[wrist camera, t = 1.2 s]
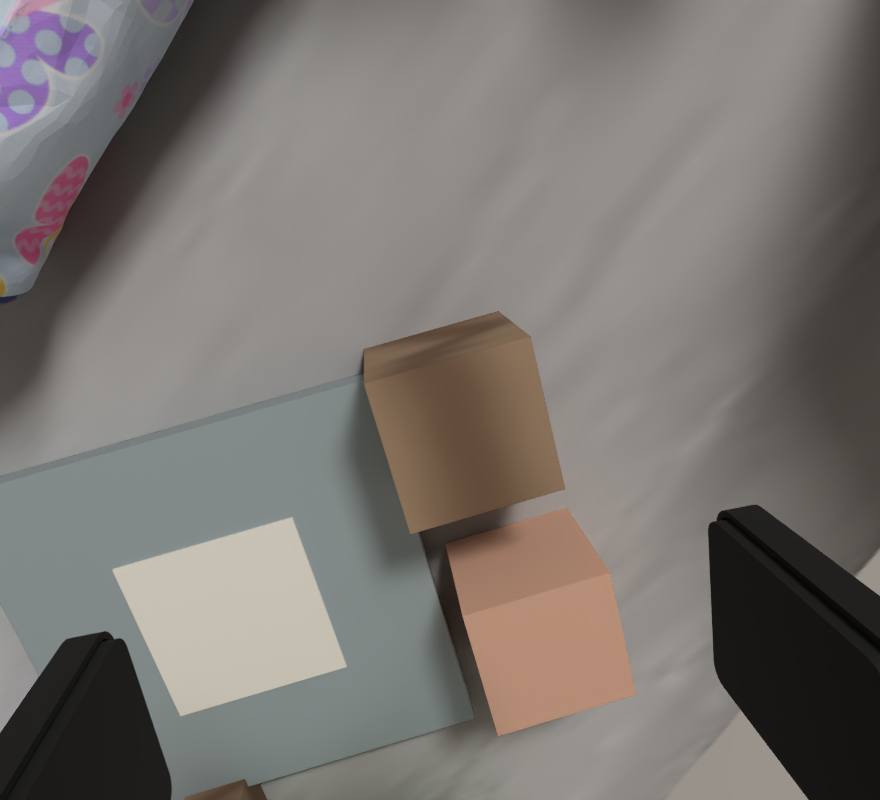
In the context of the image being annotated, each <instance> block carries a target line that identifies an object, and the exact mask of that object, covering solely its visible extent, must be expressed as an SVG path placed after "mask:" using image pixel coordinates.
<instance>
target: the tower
mask: <svg viewBox="0 0 880 800" xmlns="http://www.w3.org/2000/svg"><path fill="white" fill-rule="evenodd" d="M184 800H267V799H266V797H265V795H264V792H263V790H262V788H261V786H260V783H259V784H256V785H252V786H249V787H248V784H247V782H246V780H245V779H243V780H240V781H236V782H233V783H230V784H226V785H223V786H220V787H216V788H213V789H210V790H206V791H203V792H200V793H196V794H193V795H190V796H186V797H185V799H184Z"/></svg>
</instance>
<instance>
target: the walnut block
mask: <svg viewBox="0 0 880 800" xmlns="http://www.w3.org/2000/svg"><path fill="white" fill-rule="evenodd" d="M364 386H365V389H366V392H367V396H368V399H369V402H370V405H371V408H372V412H373V415H374V418H375V421H376V425H377V428H378V431H379V434H380V438H381V441H382V444H383V447H384V450H385V454H386V457H387V460H388V463H389V467H390V470H391V473H392V476H393V480H394V483H395V486H396V489H397V492H398V496H399V499H400V502H401V505H402V509H403V512H404V515H405V518H406V521H407V525H408V528H409V531H410V534H413V533H417V532H420V531H423V530H427V529H430V528H434V527H437V526H441V525H444V524H447V523H451V522H454V521H458V520H461V519H465V518H468V517H471V516H475V515H478V514H482V513H485V512H488V511H492V510H495V509H499V508H502V507H506V506H509V505H512V504H516V503H519V502H523V501H526V500H530V499H533V498H536V497H540V496H543V495H547V494H550V493H554V492H557V491H560V490H564V489H565V486H564V482H563V477H562V473H561V469H560V464H559V460H558V455H557V451H556V447H555V442H554V438H553V433H552V429H551V425H550V420H549V416H548V411H547V407H546V403H545V398H544V394H543V389H542V385H541V381H540V376H539V372H538V368H537V363H536V359H535V354H534V350H533V346H532V341H531V337H530V336H529V335H528V334H527V333H525V332H524V331H523V330H522V329H520V328H519V327H518V326H516V325H515V324H514V323H513V322H511V321H510V320H509V319H507V318H506V317H505V316H504V315H502V314H501V313H500V312H499V311H497V312H494V313H490V314H487V315H483V316H480V317H476V318H473V319H469V320H465V321H462V322H458V323H455V324H451V325H448V326H444V327H441V328H437V329H434V330H430V331H427V332H423V333H419V334H416V335H412V336H409V337H405V338H402V339H398V340H395V341H391V342H388V343H384V344H381V345H377V346H374V347H370V348H366V349H364Z"/></svg>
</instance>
